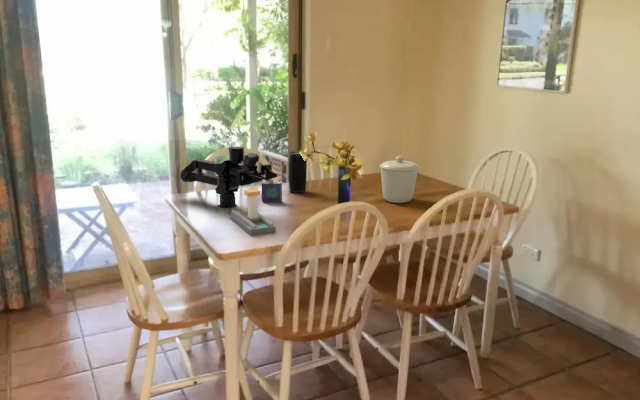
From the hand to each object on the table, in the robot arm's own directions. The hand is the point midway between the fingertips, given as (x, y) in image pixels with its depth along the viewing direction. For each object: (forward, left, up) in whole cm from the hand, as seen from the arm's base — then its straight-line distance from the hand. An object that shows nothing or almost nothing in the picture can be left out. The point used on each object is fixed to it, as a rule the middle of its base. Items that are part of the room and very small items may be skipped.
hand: (269, 177), depth 219 cm
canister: (+28, +57, -17) cm, 66 cm away
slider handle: (+3, -13, -14) cm, 20 cm away
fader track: (+2, -13, -17) cm, 21 cm away
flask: (-15, +18, -17) cm, 29 cm away
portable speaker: (-18, +40, -17) cm, 47 cm away
